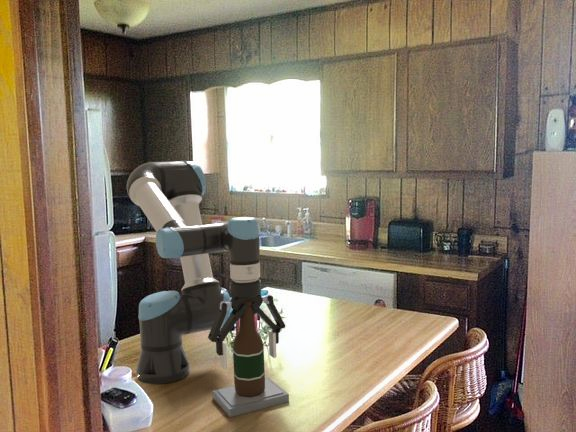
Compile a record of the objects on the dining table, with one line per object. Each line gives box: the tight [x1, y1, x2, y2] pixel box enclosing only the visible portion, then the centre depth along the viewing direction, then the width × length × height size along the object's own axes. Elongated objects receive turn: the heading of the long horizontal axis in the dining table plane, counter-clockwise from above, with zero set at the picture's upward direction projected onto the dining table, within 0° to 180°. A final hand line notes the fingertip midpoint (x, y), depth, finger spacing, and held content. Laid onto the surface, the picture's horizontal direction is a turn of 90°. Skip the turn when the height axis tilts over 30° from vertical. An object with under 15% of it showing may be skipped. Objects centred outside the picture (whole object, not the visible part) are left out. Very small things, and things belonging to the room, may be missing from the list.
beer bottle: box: [232, 300, 266, 397], centre depth 136 cm, size 8×8×24 cm
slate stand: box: [212, 377, 290, 418], centre depth 137 cm, size 12×16×2 cm
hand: (248, 361), depth 136 cm, fingers open, 13 cm apart
